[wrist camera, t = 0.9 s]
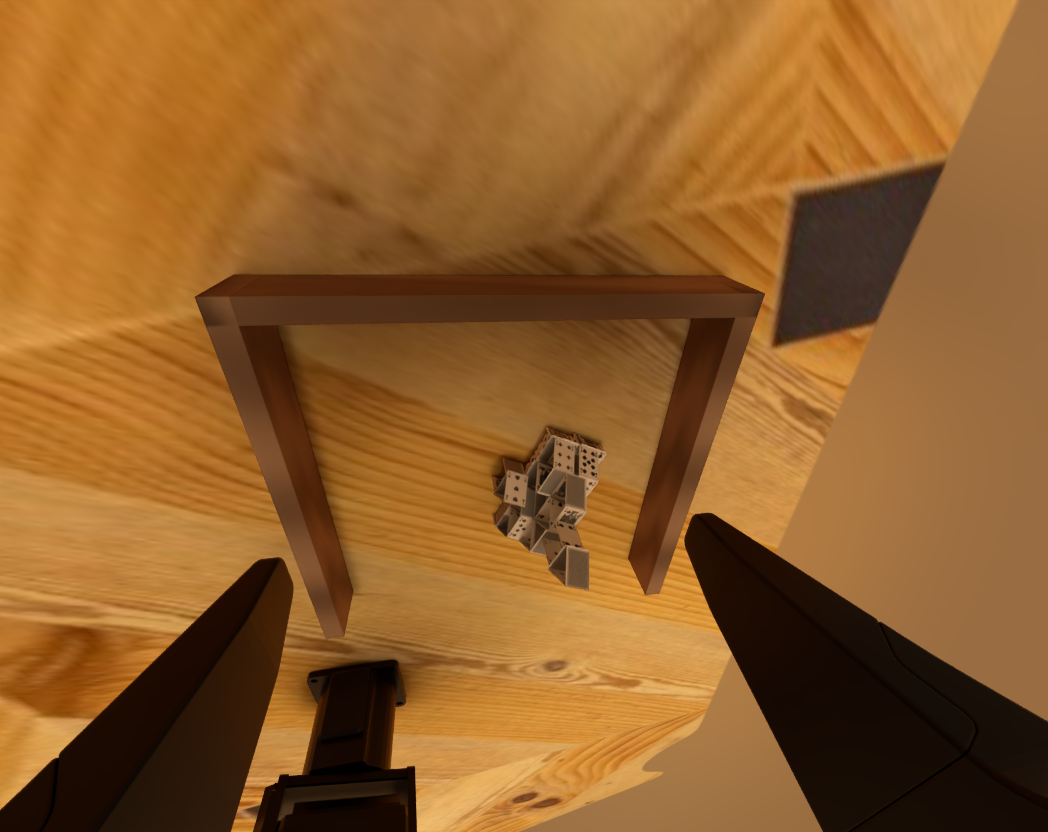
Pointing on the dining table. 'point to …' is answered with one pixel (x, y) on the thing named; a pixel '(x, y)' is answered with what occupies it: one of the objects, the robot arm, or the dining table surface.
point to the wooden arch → (268, 300)
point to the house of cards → (551, 502)
